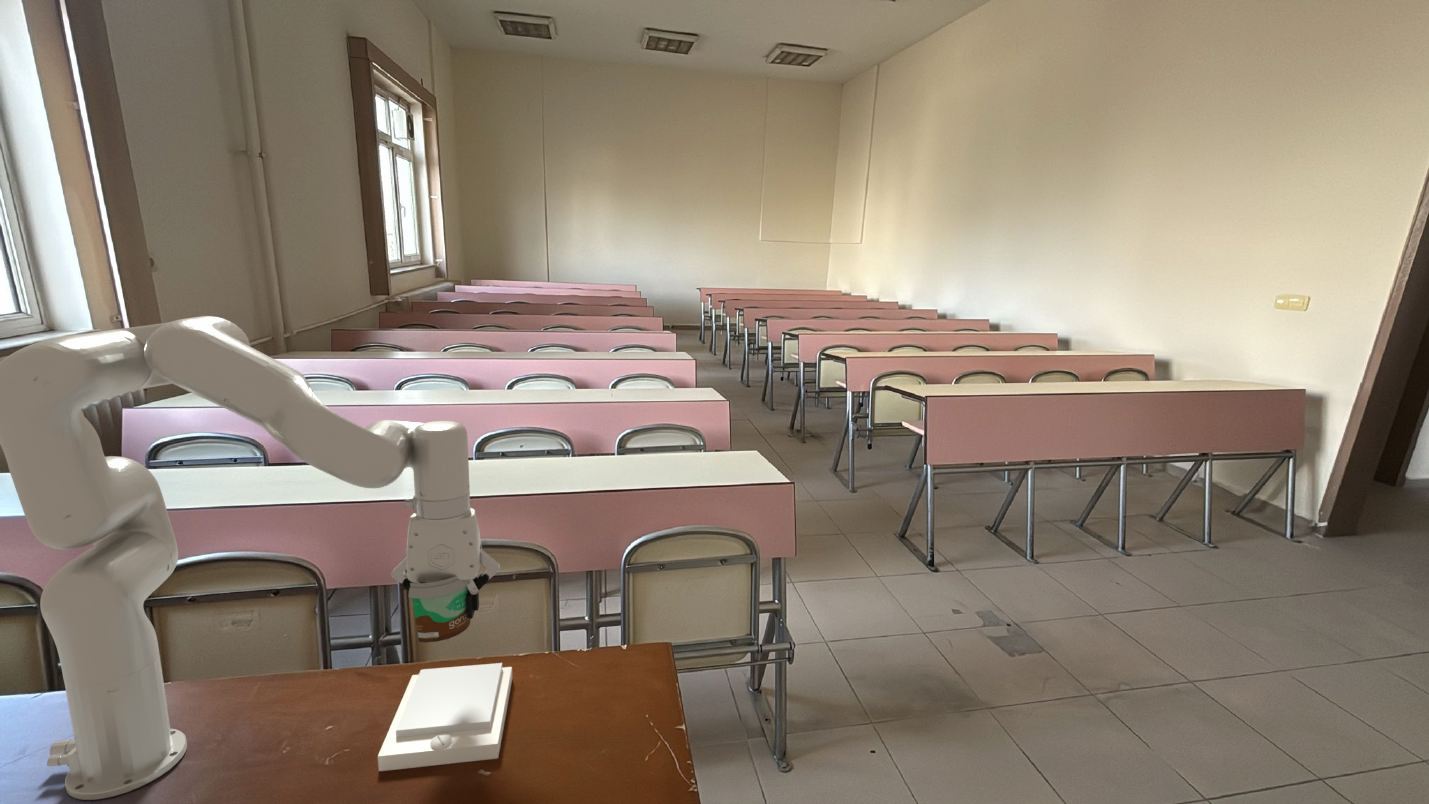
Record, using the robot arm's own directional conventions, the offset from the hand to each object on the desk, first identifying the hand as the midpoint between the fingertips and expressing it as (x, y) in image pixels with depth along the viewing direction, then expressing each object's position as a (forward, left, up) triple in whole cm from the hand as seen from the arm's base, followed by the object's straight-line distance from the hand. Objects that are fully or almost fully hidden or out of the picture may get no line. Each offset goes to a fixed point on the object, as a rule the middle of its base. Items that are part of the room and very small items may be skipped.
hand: (448, 614), depth 100 cm
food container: (+1, 0, -2) cm, 3 cm away
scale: (0, -1, -17) cm, 17 cm away
